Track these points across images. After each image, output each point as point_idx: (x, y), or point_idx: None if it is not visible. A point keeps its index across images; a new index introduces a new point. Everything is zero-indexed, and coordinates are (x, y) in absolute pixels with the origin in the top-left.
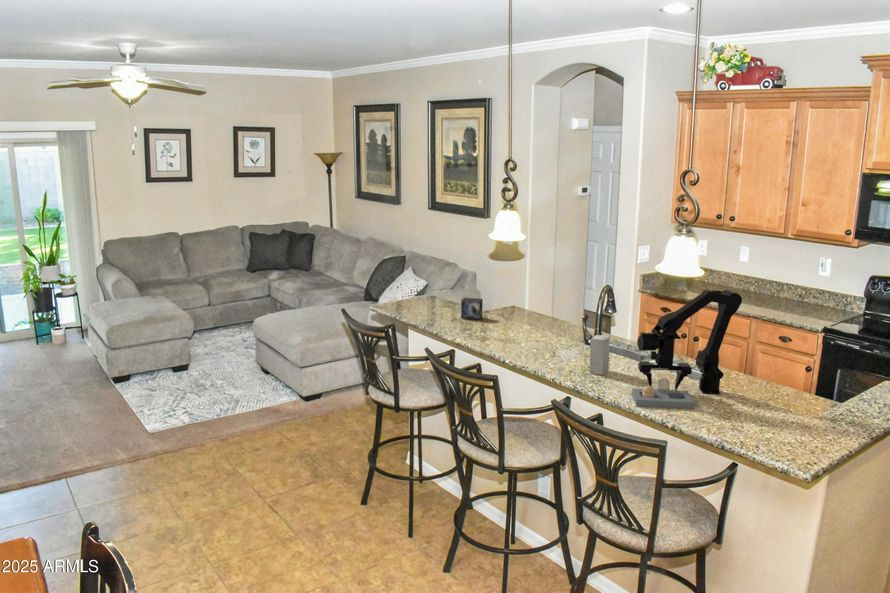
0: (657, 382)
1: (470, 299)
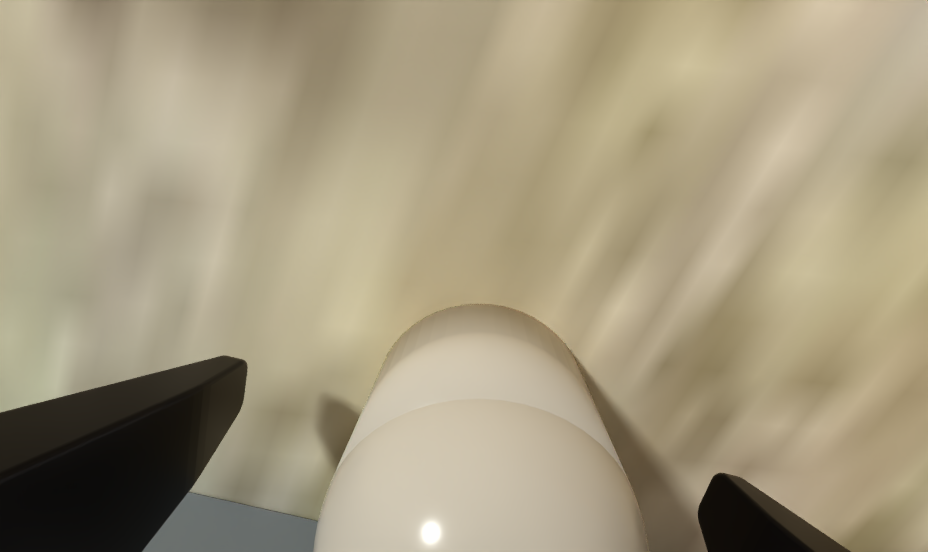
0: (322, 505)
1: None
